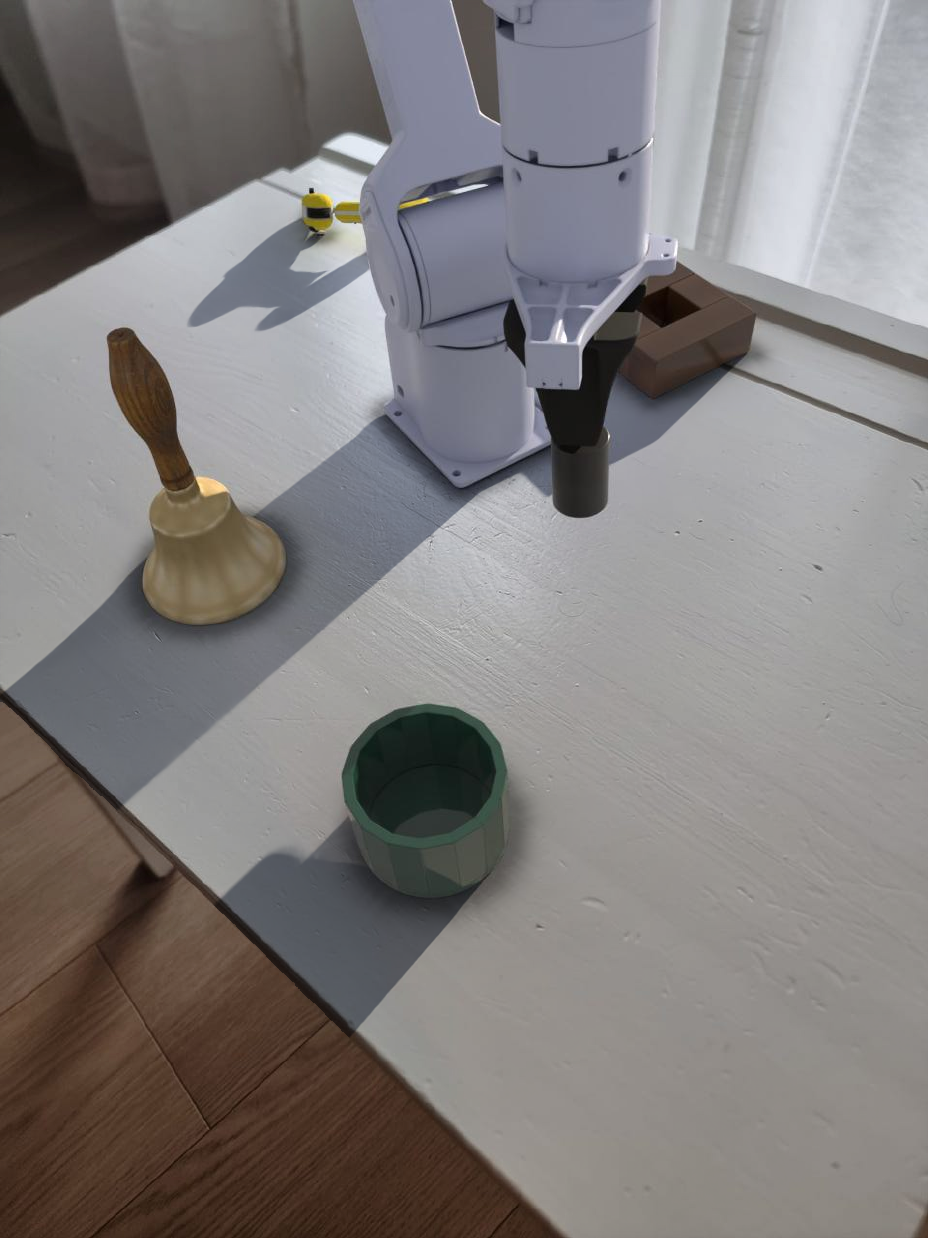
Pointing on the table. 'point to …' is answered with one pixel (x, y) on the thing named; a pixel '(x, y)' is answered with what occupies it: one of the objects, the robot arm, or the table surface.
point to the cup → (428, 799)
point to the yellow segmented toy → (333, 211)
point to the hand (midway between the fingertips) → (578, 429)
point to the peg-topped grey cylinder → (580, 477)
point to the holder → (685, 331)
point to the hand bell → (190, 509)
